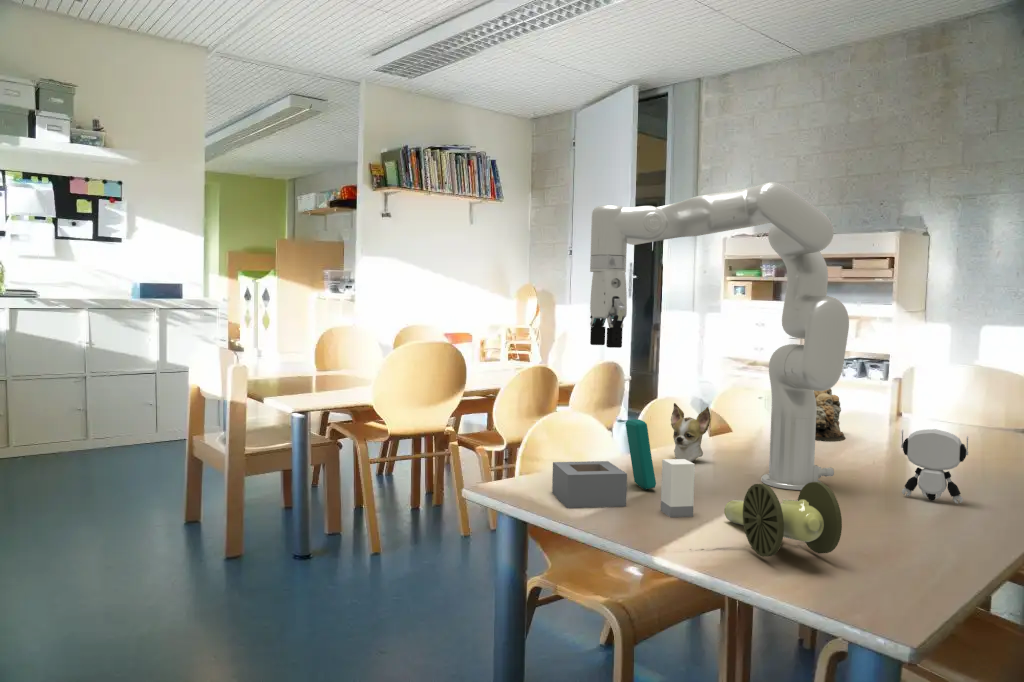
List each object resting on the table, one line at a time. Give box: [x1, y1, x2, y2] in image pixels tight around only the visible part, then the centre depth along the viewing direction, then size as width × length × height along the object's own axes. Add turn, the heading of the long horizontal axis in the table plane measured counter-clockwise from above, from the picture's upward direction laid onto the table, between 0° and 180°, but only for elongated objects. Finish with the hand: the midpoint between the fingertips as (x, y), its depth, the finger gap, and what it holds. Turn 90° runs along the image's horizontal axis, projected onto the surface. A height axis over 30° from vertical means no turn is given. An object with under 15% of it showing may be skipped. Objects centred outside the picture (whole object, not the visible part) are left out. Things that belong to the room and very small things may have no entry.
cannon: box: [723, 481, 843, 557], centre depth 127 cm, size 25×12×11 cm, turn 12°
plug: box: [660, 458, 696, 518], centre depth 144 cm, size 5×5×10 cm
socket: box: [551, 460, 628, 509], centre depth 153 cm, size 12×12×6 cm
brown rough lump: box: [814, 388, 846, 443], centre depth 229 cm, size 18×12×17 cm, turn 147°
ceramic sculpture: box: [670, 402, 711, 463], centre depth 190 cm, size 11×9×15 cm
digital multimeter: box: [625, 418, 657, 490], centre depth 163 cm, size 7×15×3 cm
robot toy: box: [900, 428, 969, 504], centre depth 159 cm, size 12×4×15 cm, turn 54°
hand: (605, 346), depth 160 cm, fingers open, 9 cm apart
